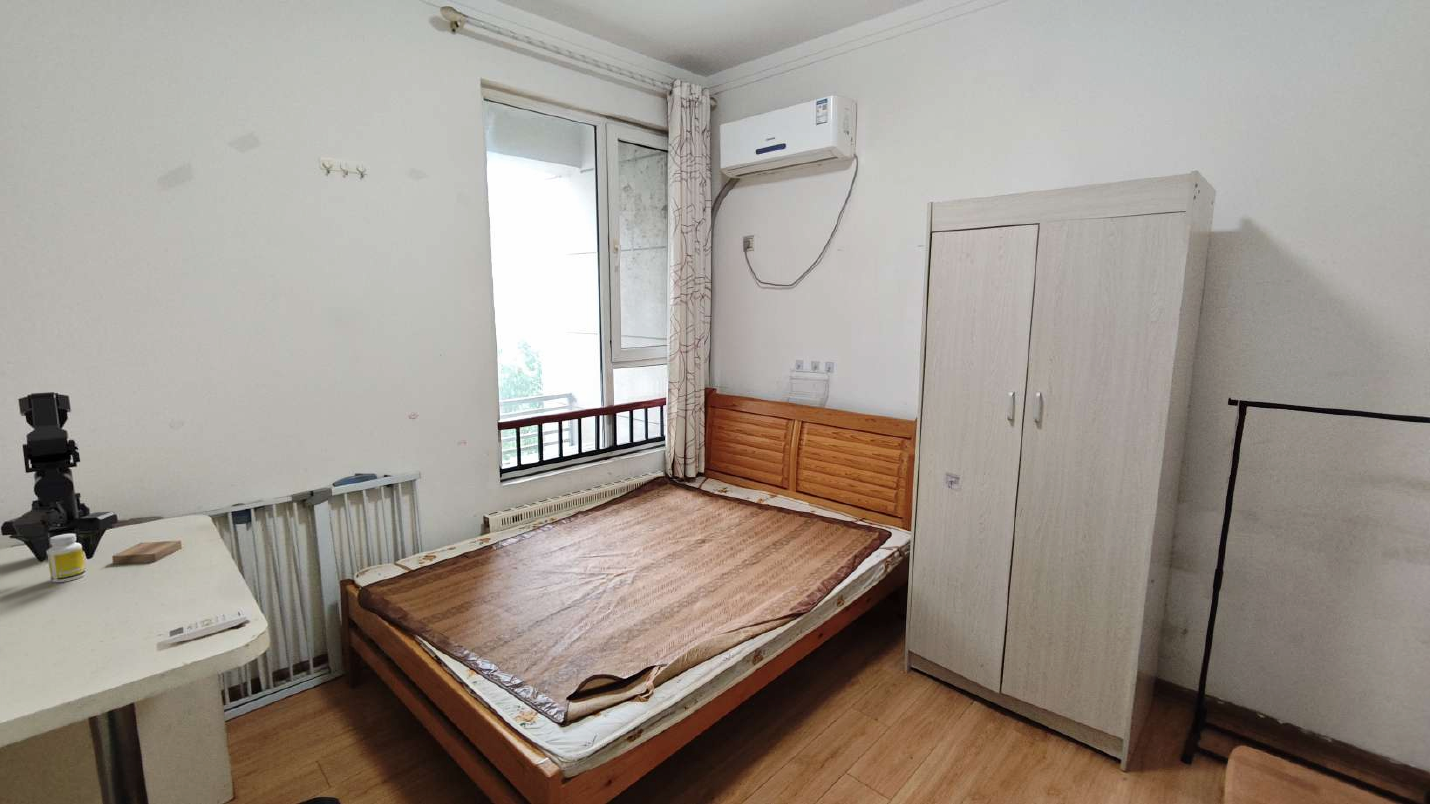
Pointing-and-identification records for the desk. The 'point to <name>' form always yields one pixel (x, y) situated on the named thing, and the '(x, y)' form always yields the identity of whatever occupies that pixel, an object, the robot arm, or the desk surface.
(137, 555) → the base plate
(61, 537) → the supplement bottle
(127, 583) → the desk surface
